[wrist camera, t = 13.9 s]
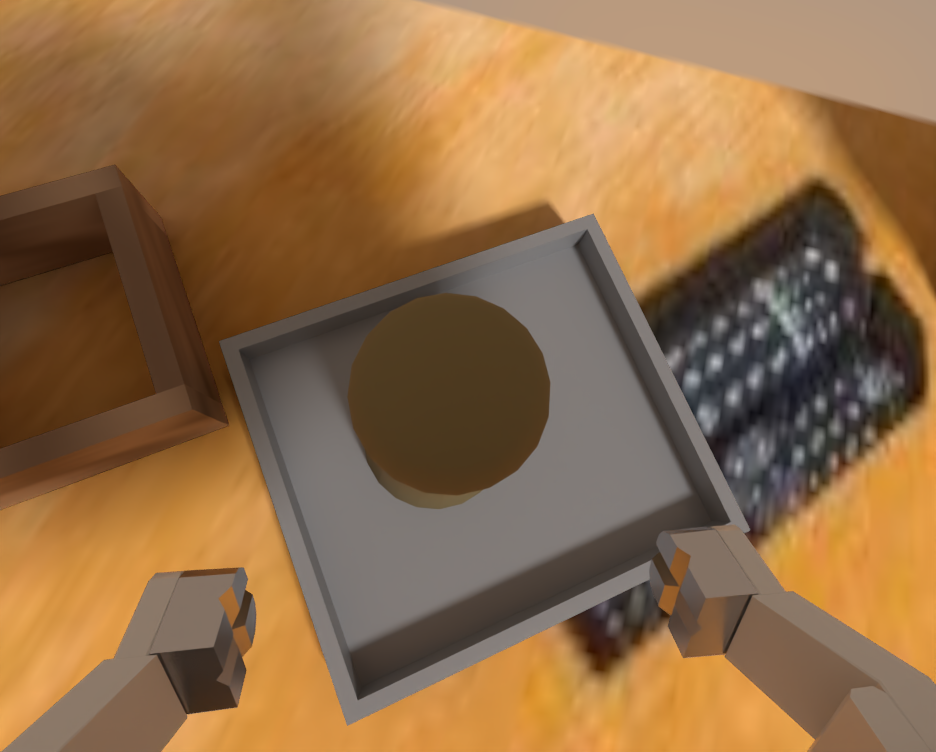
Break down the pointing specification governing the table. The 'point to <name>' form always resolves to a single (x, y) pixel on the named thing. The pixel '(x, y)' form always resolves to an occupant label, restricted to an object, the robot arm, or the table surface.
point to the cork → (447, 398)
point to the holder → (154, 313)
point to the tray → (494, 509)
